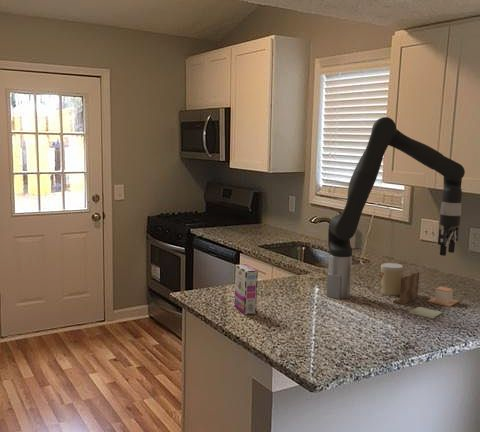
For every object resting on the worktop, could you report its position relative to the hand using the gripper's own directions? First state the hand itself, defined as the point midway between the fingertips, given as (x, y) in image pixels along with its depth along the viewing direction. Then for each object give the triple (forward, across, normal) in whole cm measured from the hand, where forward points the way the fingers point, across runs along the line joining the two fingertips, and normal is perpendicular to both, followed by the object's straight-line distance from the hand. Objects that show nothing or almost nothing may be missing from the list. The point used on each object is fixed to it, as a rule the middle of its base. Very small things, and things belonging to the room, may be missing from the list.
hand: (447, 253), depth 207 cm
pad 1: (+20, -19, -1) cm, 27 cm away
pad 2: (+20, 0, 0) cm, 20 cm away
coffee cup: (+20, -4, +21) cm, 29 cm away
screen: (+20, -9, +12) cm, 25 cm away
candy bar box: (+20, -66, +48) cm, 84 cm away
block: (+19, 0, 0) cm, 19 cm away
